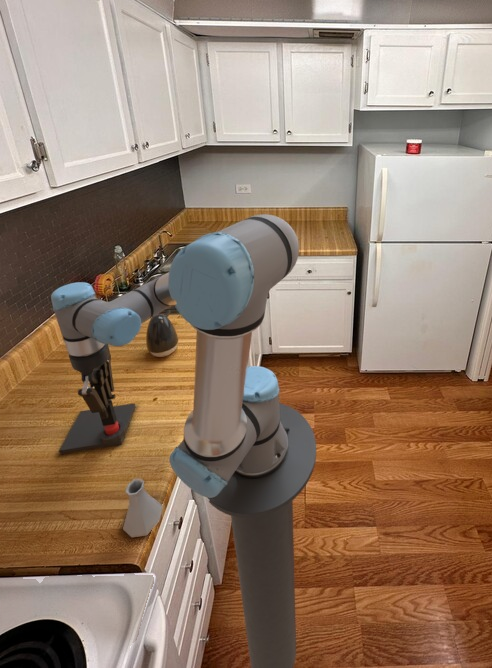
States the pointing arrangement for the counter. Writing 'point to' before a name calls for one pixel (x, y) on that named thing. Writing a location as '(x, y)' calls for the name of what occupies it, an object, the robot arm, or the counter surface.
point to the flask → (141, 510)
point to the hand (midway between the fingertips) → (110, 422)
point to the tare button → (111, 428)
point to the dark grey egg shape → (161, 335)
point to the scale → (96, 430)
